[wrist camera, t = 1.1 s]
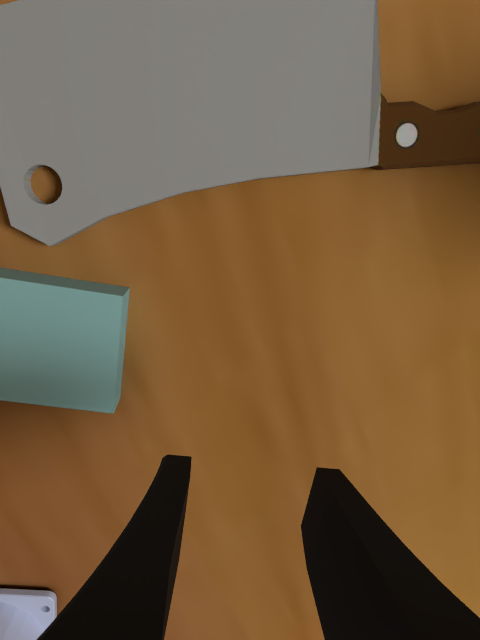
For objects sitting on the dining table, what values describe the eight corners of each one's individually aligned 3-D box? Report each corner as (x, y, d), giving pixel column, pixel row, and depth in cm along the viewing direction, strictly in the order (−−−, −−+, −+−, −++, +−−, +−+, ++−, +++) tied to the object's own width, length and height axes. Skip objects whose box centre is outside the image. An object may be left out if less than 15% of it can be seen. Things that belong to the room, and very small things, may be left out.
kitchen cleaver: (683, -117, 13) (615, 206, 16) (650, -95, 14) (592, 205, 17) (-82, -74, 12) (-2, 250, 15) (-60, -54, 13) (12, 246, 16)
